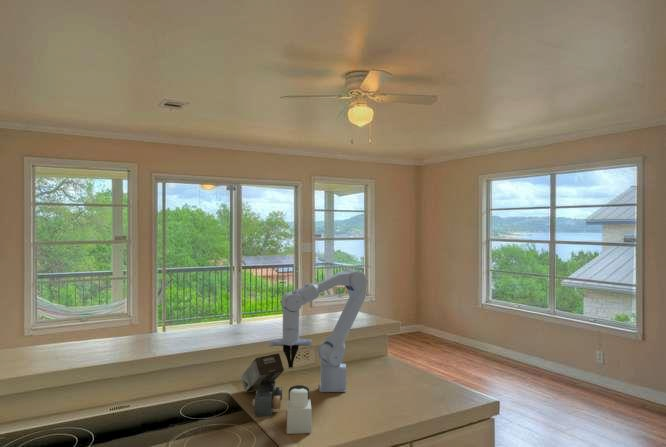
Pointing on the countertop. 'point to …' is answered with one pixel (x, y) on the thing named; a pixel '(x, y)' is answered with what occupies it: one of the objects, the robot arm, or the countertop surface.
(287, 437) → the countertop surface
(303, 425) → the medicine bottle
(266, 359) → the coffee box
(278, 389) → the knob dark gray
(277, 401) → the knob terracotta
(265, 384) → the mount
